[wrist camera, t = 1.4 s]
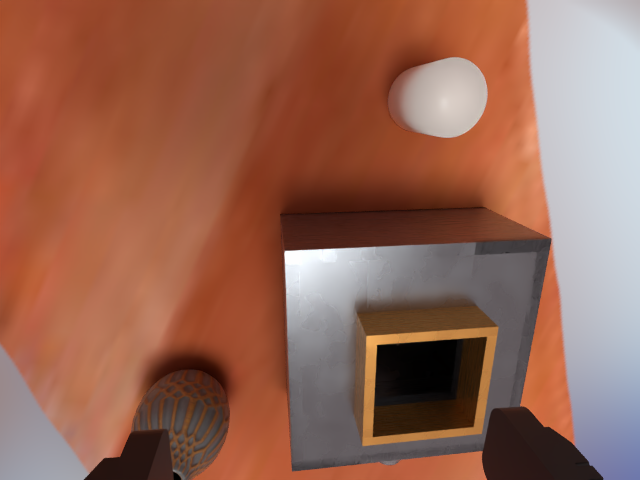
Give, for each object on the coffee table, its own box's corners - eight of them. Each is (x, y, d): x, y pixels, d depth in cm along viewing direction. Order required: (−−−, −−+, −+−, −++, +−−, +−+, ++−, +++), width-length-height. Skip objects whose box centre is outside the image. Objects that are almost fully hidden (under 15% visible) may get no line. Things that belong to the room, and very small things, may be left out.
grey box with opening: (280, 214, 30) (286, 268, 20) (484, 207, 32) (582, 253, 22) (288, 425, 36) (295, 546, 26) (457, 409, 38) (524, 516, 28)
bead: (389, 66, 27) (417, 56, 22) (450, 66, 28) (492, 57, 23) (386, 132, 29) (411, 138, 24) (444, 131, 29) (482, 137, 24)
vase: (139, 414, 34) (97, 514, 26) (159, 346, 32) (122, 429, 24) (219, 430, 35) (205, 529, 27) (243, 366, 34) (235, 451, 25)
